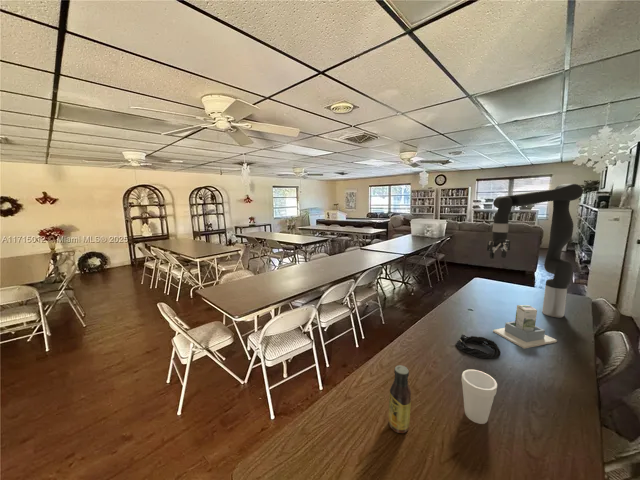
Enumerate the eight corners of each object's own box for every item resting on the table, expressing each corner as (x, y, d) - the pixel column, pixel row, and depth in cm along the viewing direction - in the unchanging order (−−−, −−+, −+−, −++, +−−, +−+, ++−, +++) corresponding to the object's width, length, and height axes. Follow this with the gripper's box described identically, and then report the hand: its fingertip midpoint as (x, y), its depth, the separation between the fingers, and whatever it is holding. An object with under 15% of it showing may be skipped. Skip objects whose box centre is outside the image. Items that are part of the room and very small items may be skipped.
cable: (504, 352, 116) (505, 343, 115) (494, 366, 107) (495, 356, 106) (463, 337, 128) (464, 329, 128) (451, 348, 120) (452, 340, 119)
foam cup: (480, 432, 76) (483, 394, 74) (453, 409, 85) (455, 374, 83) (500, 421, 80) (504, 384, 78) (472, 400, 89) (475, 366, 87)
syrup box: (525, 331, 131) (528, 304, 128) (534, 337, 125) (537, 309, 122) (513, 331, 131) (516, 304, 129) (521, 337, 125) (524, 309, 123)
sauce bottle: (385, 418, 82) (386, 362, 79) (404, 416, 83) (406, 360, 80) (392, 436, 76) (394, 376, 73) (413, 434, 76) (415, 374, 73)
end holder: (523, 326, 138) (524, 316, 137) (556, 342, 122) (558, 331, 122) (493, 331, 133) (493, 321, 132) (524, 348, 118) (525, 337, 117)
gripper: (496, 232, 144) (493, 260, 147) (515, 231, 148) (513, 258, 150) (484, 230, 152) (482, 257, 154) (503, 229, 155) (501, 255, 157)
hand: (497, 258), depth 152 cm, fingers open, 8 cm apart
